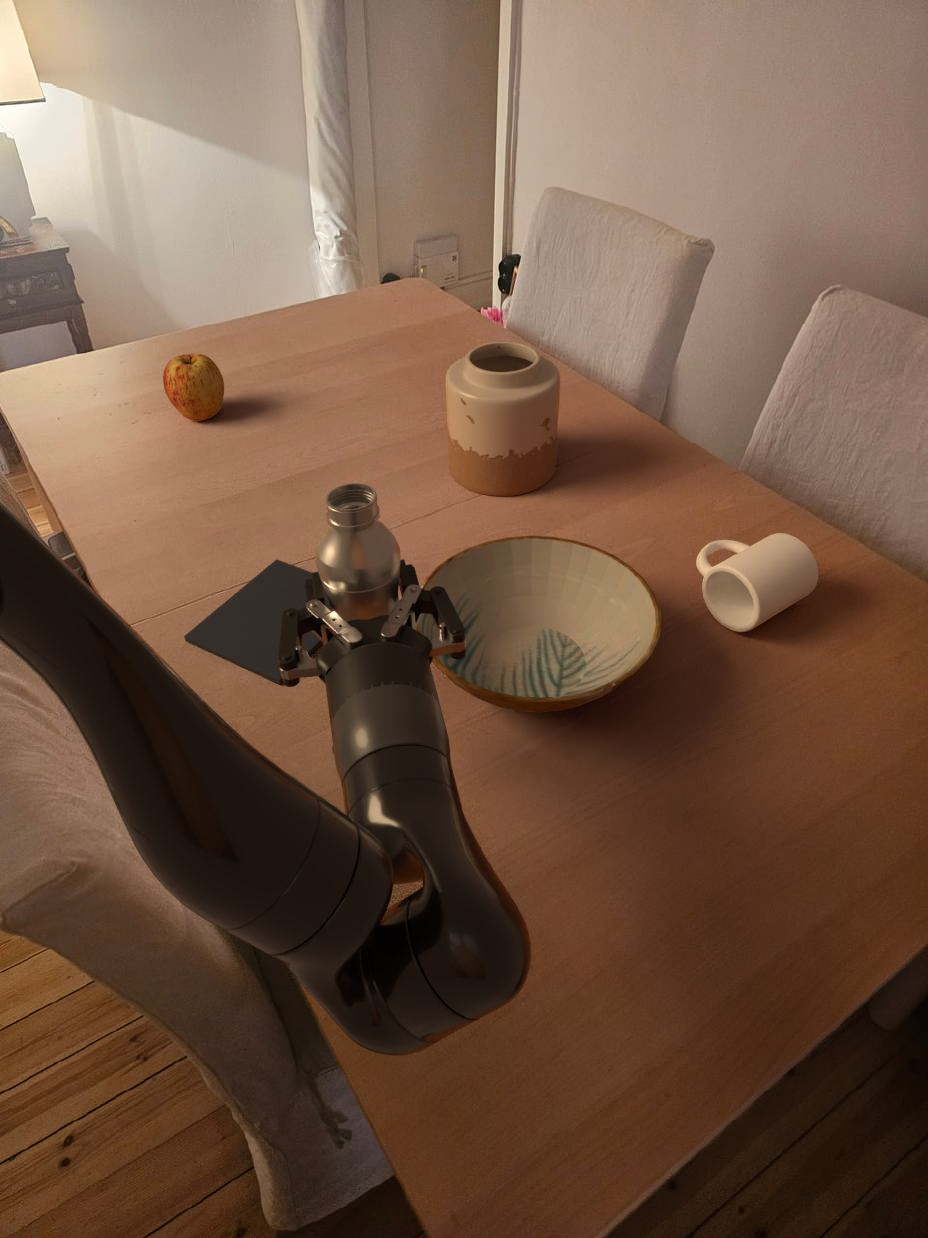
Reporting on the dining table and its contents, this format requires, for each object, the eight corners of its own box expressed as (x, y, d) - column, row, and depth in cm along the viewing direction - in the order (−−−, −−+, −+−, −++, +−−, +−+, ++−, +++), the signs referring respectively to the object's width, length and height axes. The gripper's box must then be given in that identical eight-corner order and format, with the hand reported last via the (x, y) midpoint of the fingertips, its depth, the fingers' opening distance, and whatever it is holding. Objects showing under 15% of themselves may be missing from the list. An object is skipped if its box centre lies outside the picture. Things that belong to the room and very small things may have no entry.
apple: (196, 397, 136) (180, 339, 130) (242, 406, 134) (229, 347, 127) (162, 423, 130) (144, 364, 124) (210, 433, 128) (194, 372, 121)
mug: (808, 609, 94) (827, 554, 89) (750, 646, 90) (766, 590, 84) (727, 558, 101) (740, 504, 96) (670, 589, 97) (680, 535, 92)
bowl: (702, 687, 86) (715, 632, 80) (502, 798, 76) (502, 743, 71) (556, 563, 101) (559, 509, 96) (376, 641, 92) (369, 587, 87)
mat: (280, 685, 87) (279, 680, 87) (185, 641, 93) (183, 636, 92) (368, 599, 97) (367, 594, 97) (277, 563, 103) (276, 558, 102)
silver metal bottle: (427, 692, 72) (414, 501, 59) (359, 726, 69) (330, 533, 56) (390, 651, 76) (370, 463, 63) (325, 681, 73) (289, 491, 60)
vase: (427, 466, 119) (420, 356, 108) (504, 429, 126) (505, 322, 115) (499, 510, 110) (499, 395, 99) (577, 468, 117) (586, 357, 106)
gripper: (492, 670, 53) (443, 524, 66) (269, 707, 51) (261, 549, 64) (492, 743, 58) (446, 595, 71) (288, 780, 56) (278, 621, 69)
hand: (359, 574), depth 67 cm, fingers closed on silver metal bottle, 6 cm apart
